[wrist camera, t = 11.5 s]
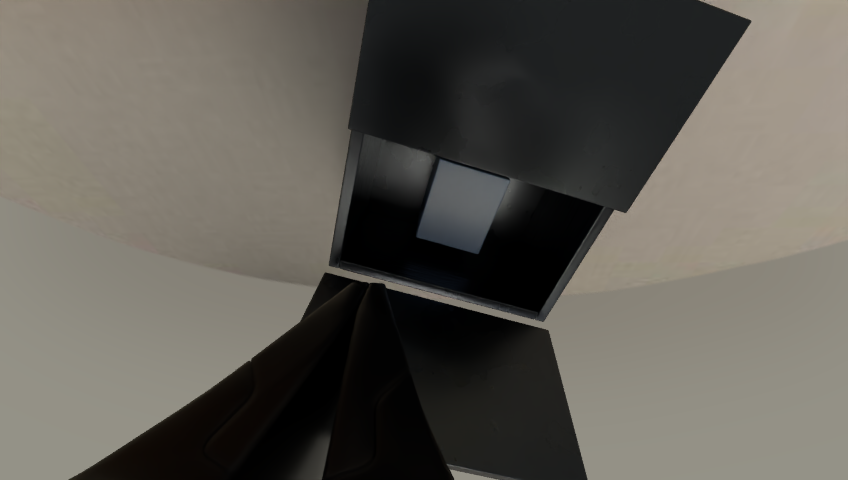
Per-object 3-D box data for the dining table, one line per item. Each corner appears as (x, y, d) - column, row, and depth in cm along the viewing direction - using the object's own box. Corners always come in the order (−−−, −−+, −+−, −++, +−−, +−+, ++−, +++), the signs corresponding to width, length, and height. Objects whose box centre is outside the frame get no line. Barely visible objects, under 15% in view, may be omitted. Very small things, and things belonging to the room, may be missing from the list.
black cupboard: (516, 256, 21) (548, 334, 15) (359, 212, 20) (322, 275, 14) (625, 40, 15) (757, 17, 9) (410, -37, 14) (386, -124, 8)
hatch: (548, 330, 15) (544, 334, 15) (324, 271, 14) (324, 277, 14) (592, 495, 10) (584, 498, 10) (249, 422, 9) (250, 427, 9)
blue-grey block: (472, 228, 20) (478, 255, 17) (419, 212, 20) (415, 237, 17) (499, 162, 18) (511, 180, 15) (439, 144, 18) (439, 158, 15)
